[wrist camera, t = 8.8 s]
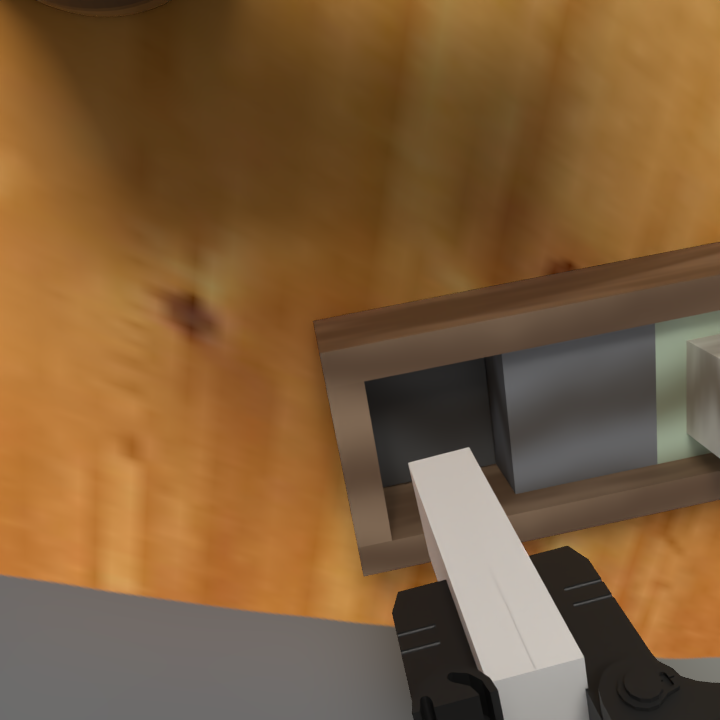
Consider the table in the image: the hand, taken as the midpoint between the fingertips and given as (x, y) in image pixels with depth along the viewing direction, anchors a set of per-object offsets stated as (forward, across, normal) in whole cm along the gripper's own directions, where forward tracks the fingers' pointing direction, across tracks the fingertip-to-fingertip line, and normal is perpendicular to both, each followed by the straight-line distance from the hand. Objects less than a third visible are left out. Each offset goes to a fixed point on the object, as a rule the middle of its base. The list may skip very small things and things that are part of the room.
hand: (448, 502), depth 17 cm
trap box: (+25, +16, -11) cm, 32 cm away
